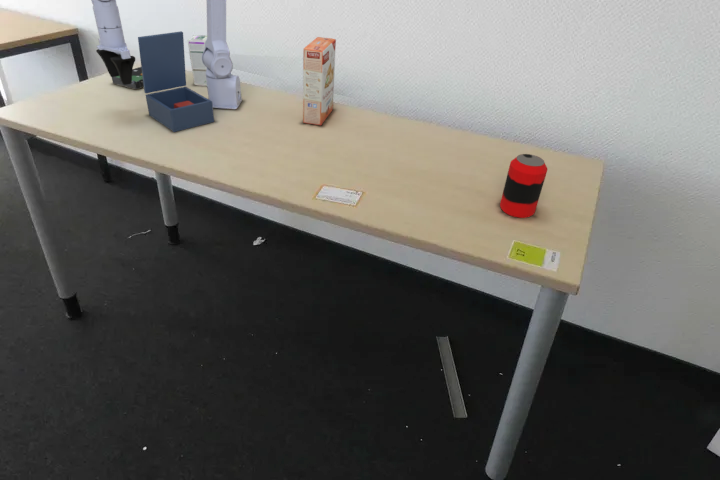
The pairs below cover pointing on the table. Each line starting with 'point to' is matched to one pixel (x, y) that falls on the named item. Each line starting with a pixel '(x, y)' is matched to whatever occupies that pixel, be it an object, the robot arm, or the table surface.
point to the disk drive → (136, 79)
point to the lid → (162, 61)
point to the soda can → (523, 185)
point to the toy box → (180, 108)
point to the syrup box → (197, 59)
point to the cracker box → (318, 80)
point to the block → (182, 104)
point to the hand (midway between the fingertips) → (121, 80)
